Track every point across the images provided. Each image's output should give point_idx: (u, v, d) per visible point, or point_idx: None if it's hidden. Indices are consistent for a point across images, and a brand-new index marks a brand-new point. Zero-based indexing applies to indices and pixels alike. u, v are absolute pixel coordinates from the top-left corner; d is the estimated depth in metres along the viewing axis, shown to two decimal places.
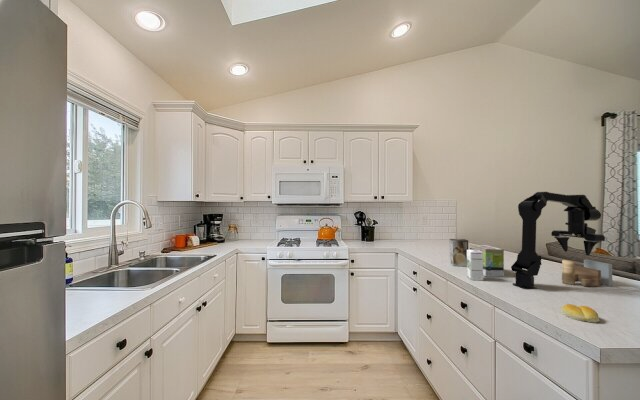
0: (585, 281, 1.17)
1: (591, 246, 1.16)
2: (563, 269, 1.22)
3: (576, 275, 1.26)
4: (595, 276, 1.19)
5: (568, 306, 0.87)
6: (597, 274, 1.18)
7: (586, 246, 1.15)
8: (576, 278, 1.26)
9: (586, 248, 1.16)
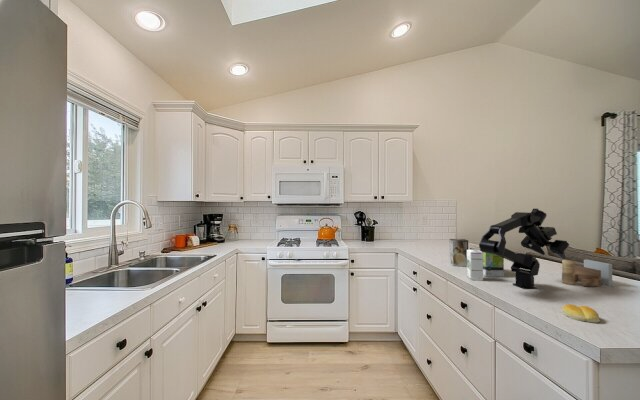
0: (585, 281, 1.17)
1: None
2: (563, 269, 1.22)
3: (576, 275, 1.26)
4: (595, 276, 1.19)
5: (568, 306, 0.87)
6: (597, 274, 1.18)
7: (558, 255, 1.15)
8: (576, 278, 1.26)
9: (559, 256, 1.15)
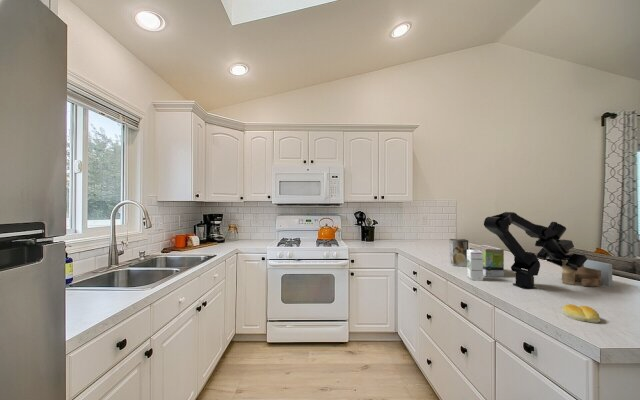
0: (585, 281, 1.17)
1: None
2: (563, 269, 1.22)
3: (576, 275, 1.26)
4: (595, 276, 1.19)
5: (569, 306, 0.87)
6: (597, 274, 1.18)
7: (570, 267, 1.18)
8: (576, 278, 1.26)
9: (571, 268, 1.18)
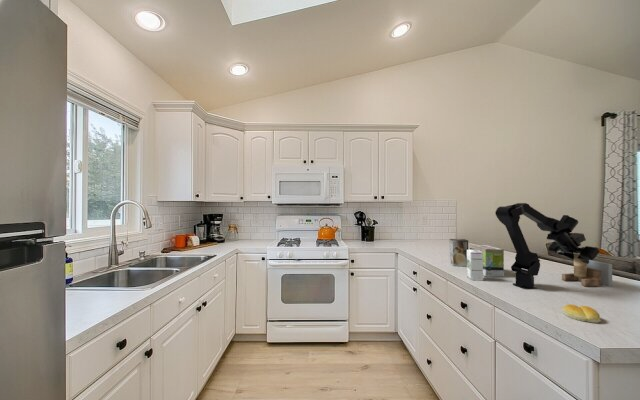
0: (585, 281, 1.17)
1: None
2: (574, 262, 1.23)
3: None
4: (595, 276, 1.19)
5: (569, 306, 0.87)
6: (597, 274, 1.18)
7: (582, 260, 1.19)
8: (576, 278, 1.26)
9: (583, 261, 1.19)
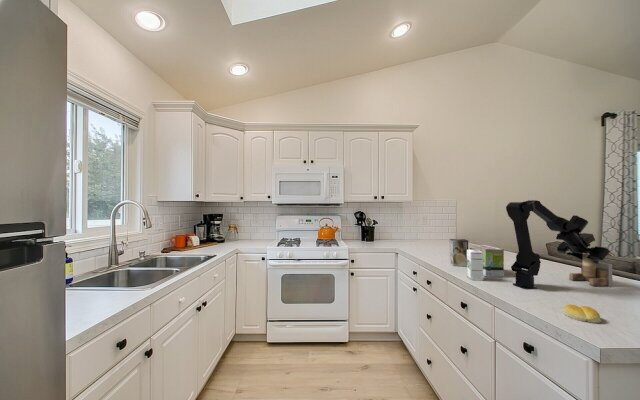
0: (593, 281, 1.18)
1: None
2: (583, 262, 1.24)
3: None
4: (603, 276, 1.19)
5: (569, 306, 0.87)
6: (604, 274, 1.19)
7: (592, 260, 1.19)
8: (583, 278, 1.27)
9: (593, 261, 1.20)
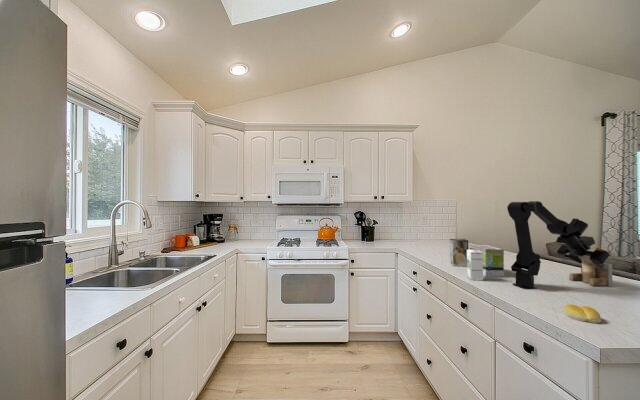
0: (593, 281, 1.18)
1: None
2: (583, 268, 1.24)
3: None
4: (603, 276, 1.19)
5: (570, 306, 0.87)
6: (604, 274, 1.19)
7: (597, 264, 1.17)
8: None
9: (598, 265, 1.18)
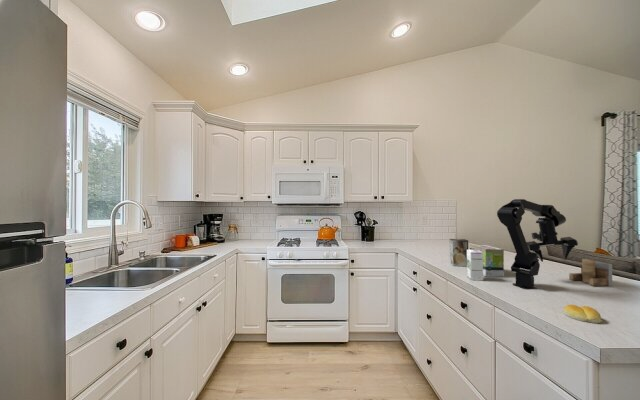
0: (593, 281, 1.18)
1: None
2: (583, 268, 1.24)
3: None
4: (603, 276, 1.19)
5: (570, 306, 0.87)
6: (604, 274, 1.19)
7: (568, 251, 1.20)
8: None
9: (568, 253, 1.21)
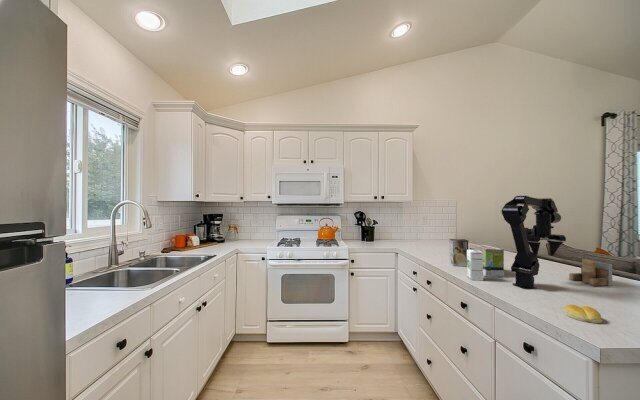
0: (593, 281, 1.18)
1: None
2: (583, 268, 1.24)
3: None
4: (603, 276, 1.19)
5: (570, 307, 0.87)
6: (604, 274, 1.19)
7: (558, 247, 1.23)
8: None
9: (556, 248, 1.24)
